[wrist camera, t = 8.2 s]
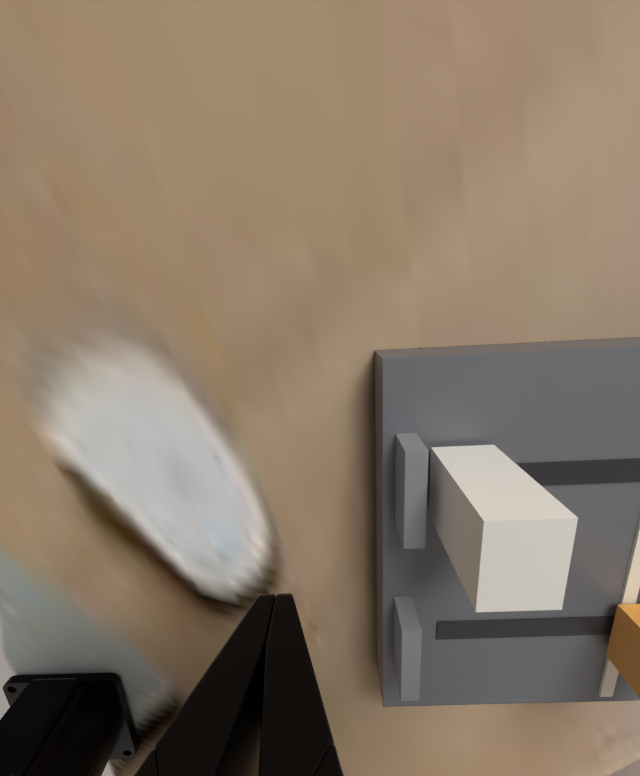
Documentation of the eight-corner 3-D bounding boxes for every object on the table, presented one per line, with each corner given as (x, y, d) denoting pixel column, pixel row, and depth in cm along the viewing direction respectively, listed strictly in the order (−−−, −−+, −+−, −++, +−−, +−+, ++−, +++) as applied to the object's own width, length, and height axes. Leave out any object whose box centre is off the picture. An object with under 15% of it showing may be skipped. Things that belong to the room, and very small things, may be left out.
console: (646, 657, 19) (720, 740, 15) (377, 665, 19) (389, 747, 15) (736, 332, 14) (873, 344, 10) (374, 350, 14) (391, 367, 11)
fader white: (487, 512, 14) (561, 609, 9) (428, 514, 14) (475, 612, 9) (493, 444, 13) (578, 517, 9) (431, 447, 13) (484, 521, 9)
